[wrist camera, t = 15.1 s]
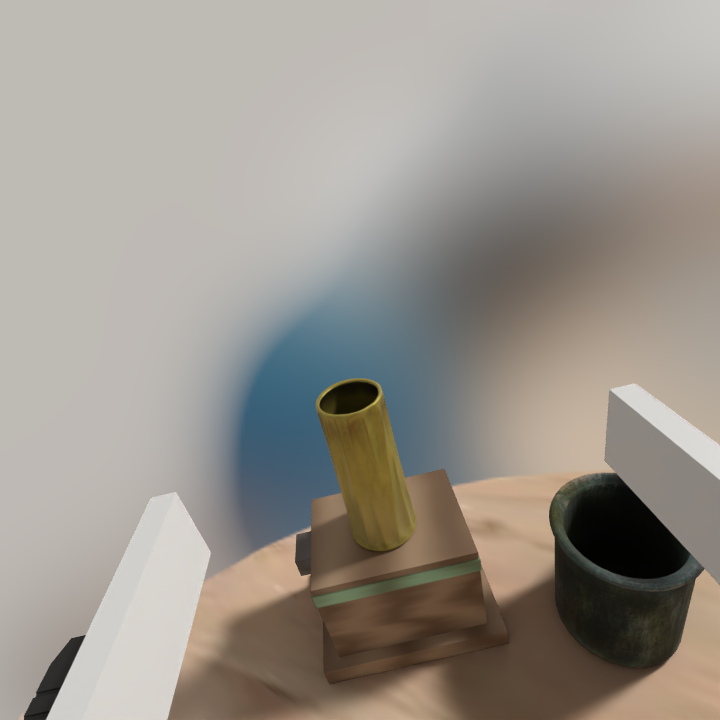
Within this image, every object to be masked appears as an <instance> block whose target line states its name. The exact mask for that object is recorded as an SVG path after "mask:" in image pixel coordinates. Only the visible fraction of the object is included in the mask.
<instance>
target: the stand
mask: <svg viewBox="0 0 720 720" xmlns="http://www.w3.org/2000/svg"><path fill="white" fill-rule="evenodd" d="M405 481H406V485H407V488H408V492H409V495H410V499H411V503H412V506H413V508H414V511H415V514H416V518H417V520H416V526H415V529H414V532H413V534H412V535H411V537H410V538H409V539H408V540H407V541H406V542H405V543H403V544H402V545H401V546H399V547H397V548H394V549H392V550H388V551H372V550H368V549H366V548H364V547H362V546H361V545H359V544H358V543H357V542H356V541H355V539H354V538H353V535H352V532H351V528H350V522H349V517H348V513H347V510H346V506H345V503H344V500H343V496H342V493H339V494H335V495H331V496H327V497H322V498H318V499H314V500H312V514H311V517H312V519H311V531H310V532H306V533H301V534H297V536H296V556H295V563H296V565H297V567H298V569H299V572H300V574H301V576H303V575H308V574H311V593H312V600H313V602H314V604H315V606H316V609H317V608H318V609H319V612H320V614H321V616H322V618H323V640H324V674H325V676H326V678H327V680H328V682H329V684H331V683H336V682H340V681H345V680H349V679H353V678H358V677H362V676H367V675H371V674H375V673H380V672H384V671H388V670H393V669H397V668H402V667H406V666H410V665H415V664H419V663H424V662H428V661H432V660H437V659H441V658H446V657H450V656H454V655H459V654H463V653H467V652H472V651H476V650H481V649H485V648H489V647H494V646H498V645H503V644H507V643H509V641H508V631H507V628H506V626H505V623H504V621H503V618H502V616H501V613H500V611H499V608H498V605H497V603H496V600H495V598H494V595H493V593H492V590H491V588H490V585H489V583H488V580H487V578H486V575H485V573H484V570H483V568H482V565H481V561H480V557H479V555H478V551H477V549H476V546H475V544H474V541H473V539H472V536H471V534H470V531H469V529H468V527H467V524H466V522H465V519H464V517H463V514H462V512H461V509H460V507H459V504H458V502H457V499H456V497H455V494H454V492H453V489H452V487H451V484H450V482H449V479H448V477H447V474H446V472H445V469H442V470H437V471H433V472H429V473H424V474H420V475H416V476H412V477H407V478H405Z"/></svg>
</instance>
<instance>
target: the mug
mask: <svg viewBox="0 0 720 720" xmlns="http://www.w3.org/2000/svg"><path fill="white" fill-rule="evenodd" d="M549 520H550V526H551V529H552V532H553V535H554V536H555V600H556V606H557V609H558V612H559V614H560V617H561V619H562V621H563V622H564V624H565V626H566V627H567V629H568V630H569V631H570V633H571V634H572V635H573V636H574V637H575V638H576V639H577V640H578V641H579V642H580V643H581V644H582V645H583V646H584V647H586V648H587V649H588V650H590V651H591V652H592V653H594V654H596V655H598V656H599V657H601V658H603V659H605V660H608V661H610V662H612V663H615V664H619V665H623V666H628V667H650V666H654V665H657V664H660V663H662V662H664V661H666V660H667V659H668V658H670V657H671V656H672V655H673V654H674V652H675V651H676V650H677V648H678V646H679V644H680V642H681V637H682V633H683V629H684V625H685V621H686V617H687V613H688V609H689V604H690V600H691V596H692V592H693V588H694V584H695V580H696V578H697V577H698V576H699V575H700V573H701V572H702V571H703V570H704V569H705V568H704V567H703V566H702V565H701V564H700V563H699V562H698V561H697V560H696V559H695V558H694V557H693V556H692V554H691V553H690V552H689V551H688V550H687V549H686V548H685V547H684V546H683V545H682V544H681V543H680V541H679V540H678V539H677V538H676V537H675V536H674V535H673V534H672V533H671V532H670V531H669V530H668V529H667V527H666V526H665V525H664V524H663V523H662V522H661V521H660V520H659V519H658V518H657V517H656V516H655V514H654V513H653V512H652V511H651V510H650V509H649V508H648V507H647V506H646V505H645V504H644V503H643V502H642V500H641V499H640V498H639V497H638V496H637V495H636V494H635V493H634V492H633V491H632V490H631V489H630V487H629V486H628V485H627V484H626V483H625V482H624V481H623V480H622V479H621V478H620V477H619V476H618V475H617V473H595V474H589V475H584V476H581V477H578V478H576V479H573V480H572V481H570V482H568V483H566V484H565V485H564V486H563V487H561V488H560V490H559V491H558V492H557V493H556V495H555V496H554V498H553V500H552V502H551V506H550V511H549Z"/></svg>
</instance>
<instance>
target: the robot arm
mask: <svg viewBox="0 0 720 720" xmlns="http://www.w3.org/2000/svg"><path fill="white" fill-rule="evenodd" d="M605 462H606V463H607V464H608V465H609V466H610V467H611V468H612V469H613V470H614V471H615V472H616V473H617V475H618V476H619V477H620V478H621V479H622V480H623V481H624V482H625V483H626V484H627V485H628V486H629V487H630V489H631V490H632V491H633V492H634V493H635V494H636V495H637V496H638V497H639V498H640V499H641V500H642V502H643V503H644V504H645V505H646V506H647V507H648V508H649V509H650V510H651V511H652V512H653V513H654V514H655V516H656V517H657V518H658V519H659V520H660V521H661V522H662V523H663V524H664V525H665V526H666V527H667V529H668V530H669V531H670V532H671V533H672V534H673V535H674V536H675V537H676V538H677V539H678V540H679V541H680V543H681V544H682V545H683V546H684V547H685V548H686V549H687V550H688V551H689V552H690V553H691V554H692V556H693V557H694V558H695V559H696V560H697V561H698V562H699V563H700V564H701V565H702V566H703V567H704V568H705V570H706V571H707V572H708V573H709V574H710V575H711V576H712V577H713V578H714V579H715V580H716V581H717V583H718V584H719V585H720V445H718V444H717V443H716V442H714V441H713V440H712V439H710V438H709V437H708V436H706V435H705V434H704V433H702V432H701V431H699V430H698V429H697V428H695V427H694V426H692V425H691V424H690V423H689V422H687V421H686V420H684V419H683V418H682V417H680V416H679V415H678V414H676V413H675V412H674V411H672V410H671V409H669V408H668V407H667V406H665V405H664V404H663V403H661V402H660V401H659V400H657V399H656V398H654V397H653V396H652V395H650V394H649V393H648V392H646V391H645V390H643V389H642V388H641V387H639V386H638V385H637V384H635V383H634V384H630V385H626V386H622V387H617V388H613V389H610V390H609V403H608V418H607V431H606V447H605ZM210 554H211V552H210V550H209V549H208V547H207V545H206V544H205V542H204V540H203V538H202V536H201V535H200V533H199V531H198V530H197V528H196V526H195V524H194V523H193V521H192V519H191V517H190V516H189V514H188V512H187V510H186V509H185V507H184V505H183V504H182V502H181V500H180V498H179V497H178V495H177V493H176V492H174V493H170V494H166V495H161V496H157V497H153V498H151V499H150V501H149V503H148V505H147V507H146V510H145V512H144V514H143V516H142V518H141V520H140V522H139V525H138V526H137V529H136V531H135V533H134V535H133V537H132V539H131V541H130V543H129V546H128V548H127V550H126V552H125V554H124V556H123V558H122V561H121V562H120V565H119V567H118V569H117V571H116V573H115V575H114V577H113V579H112V582H111V583H110V586H109V588H108V590H107V592H106V594H105V596H104V598H103V600H102V603H101V605H100V607H99V609H98V611H97V613H96V615H95V617H94V620H93V622H92V624H91V626H90V628H89V630H88V632H87V634H86V635H84V636H80V637H75V638H71V640H70V641H69V642H68V643H67V645H66V646H65V647H64V648H63V650H62V651H61V652H60V653H59V655H58V656H57V657H56V658H55V660H54V661H53V662H52V663H51V665H50V667H49V669H48V671H47V672H46V674H45V676H44V678H43V680H42V682H41V684H40V686H39V688H38V690H37V692H36V694H37V695H36V697H35V698H33V700H32V702H31V703H30V705H29V707H28V709H27V711H26V713H25V715H24V720H167V719H168V715H169V711H170V707H171V704H172V700H173V696H174V692H175V688H176V684H177V681H178V677H179V673H180V669H181V665H182V661H183V658H184V654H185V650H186V646H187V642H188V638H189V635H190V631H191V627H192V623H193V619H194V615H195V612H196V608H197V604H198V600H199V596H200V592H201V589H202V585H203V581H204V577H205V573H206V569H207V565H208V562H209V557H210Z"/></svg>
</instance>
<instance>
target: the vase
mask: <svg viewBox="0 0 720 720" xmlns="http://www.w3.org/2000/svg"><path fill="white" fill-rule="evenodd" d="M316 409H317V413H318V416H319V420H320V423H321V426H322V429H323V432H324V435H325V438H326V441H327V444H328V448H329V451H330V455H331V458H332V462H333V466H334V469H335V473H336V476H337V479H338V482H339V486H340V490H341V493H342V496H343V500H344V503H345V506H346V510H347V513H348V517H349V522H350V528H351V532H352V535H353V538H354V539H355V541H356V542H357V543H358V544H359V545H361V546H362V547H364V548H366V549H368V550H372V551H388V550H392V549H394V548H397V547H399V546H401V545H402V544H403V543H405V542H406V541H407V540H408V539H409V538H410V537H411V535H412V534H413V532H414V529H415V526H416V520H417V518H416V514H415V511H414V508H413V506H412V503H411V499H410V495H409V492H408V488H407V485H406V481H405V478H404V474H403V471H402V467H401V463H400V460H399V456H398V453H397V449H396V445H395V441H394V438H393V433H392V429H391V424H390V420H389V417H388V413H387V408H386V404H385V399H384V395H383V392H382V390H381V387H380V385H379V384H378V383H376V382H374V381H372V380H369V379H361V378H357V379H348V380H344V381H341V382H338V383H335V384H333V385H331V386H330V387H328V388H327V389H326V390H324V391H323V392H322V393H321V394H320V396H319V397H318V399H317V401H316Z"/></svg>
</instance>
